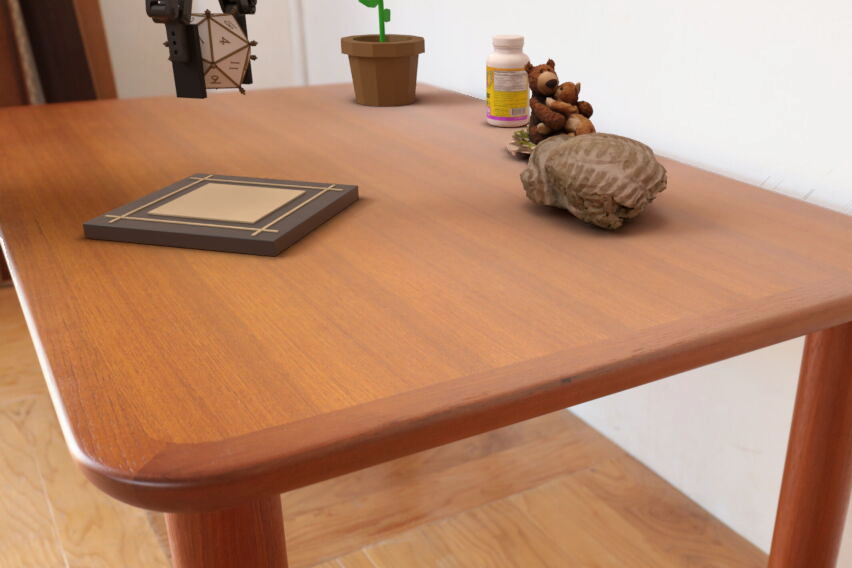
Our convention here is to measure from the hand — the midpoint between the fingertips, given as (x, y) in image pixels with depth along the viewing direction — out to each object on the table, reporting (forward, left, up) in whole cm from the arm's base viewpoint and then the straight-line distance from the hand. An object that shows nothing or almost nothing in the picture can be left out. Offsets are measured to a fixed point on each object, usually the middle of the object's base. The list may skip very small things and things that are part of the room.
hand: (216, 89), depth 87 cm
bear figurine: (+28, +36, -13) cm, 48 cm away
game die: (0, 0, -1) cm, 1 cm away
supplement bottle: (+16, +55, -13) cm, 59 cm away
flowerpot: (-9, +68, -13) cm, 70 cm away
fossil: (+36, +12, -13) cm, 40 cm away
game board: (0, 0, -13) cm, 13 cm away
